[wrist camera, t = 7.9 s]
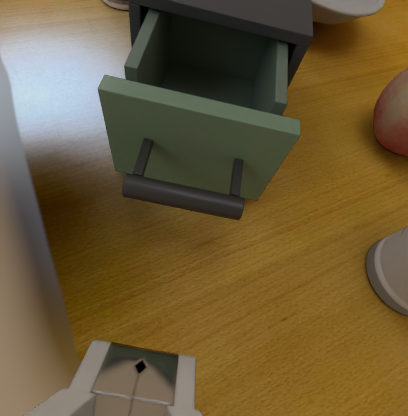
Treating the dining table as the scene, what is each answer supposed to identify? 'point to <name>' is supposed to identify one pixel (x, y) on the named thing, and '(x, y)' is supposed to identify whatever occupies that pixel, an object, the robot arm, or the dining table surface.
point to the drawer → (199, 115)
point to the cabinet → (242, 20)
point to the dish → (343, 10)
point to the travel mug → (390, 270)
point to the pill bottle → (118, 4)
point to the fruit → (393, 115)
